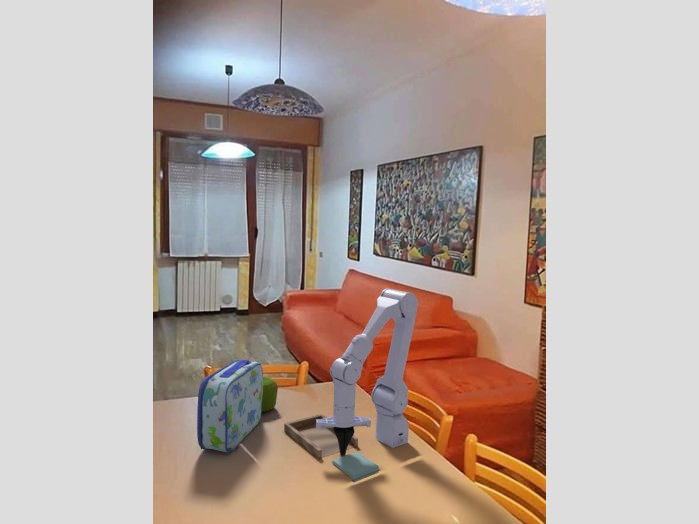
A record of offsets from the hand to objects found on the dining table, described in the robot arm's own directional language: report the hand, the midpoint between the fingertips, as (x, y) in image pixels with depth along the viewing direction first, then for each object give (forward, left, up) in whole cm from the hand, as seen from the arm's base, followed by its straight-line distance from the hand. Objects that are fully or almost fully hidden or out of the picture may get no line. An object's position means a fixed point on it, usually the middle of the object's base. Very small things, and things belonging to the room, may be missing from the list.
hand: (342, 452), depth 126 cm
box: (+11, 0, -1) cm, 11 cm away
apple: (+40, +5, -2) cm, 41 cm away
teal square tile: (-7, +1, -2) cm, 7 cm away
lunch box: (+27, +20, -2) cm, 34 cm away
